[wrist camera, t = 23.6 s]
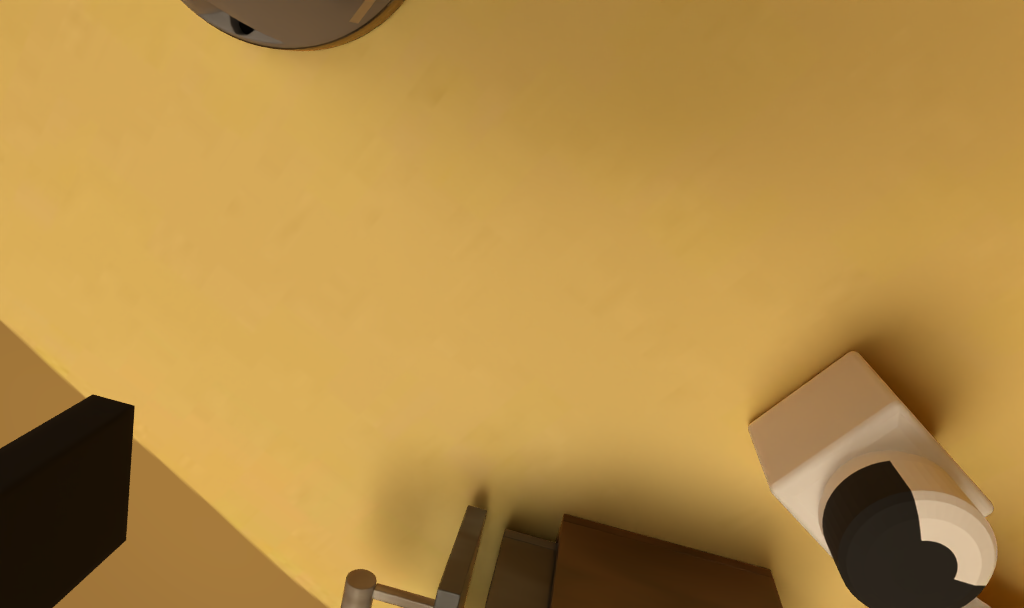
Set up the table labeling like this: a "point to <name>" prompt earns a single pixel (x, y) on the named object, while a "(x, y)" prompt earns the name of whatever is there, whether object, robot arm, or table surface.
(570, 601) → the cabinet
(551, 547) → the grey pull-out drawer
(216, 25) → the robot arm
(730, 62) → the table surface
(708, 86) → the table surface
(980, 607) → the figurine
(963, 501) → the medicine bottle
